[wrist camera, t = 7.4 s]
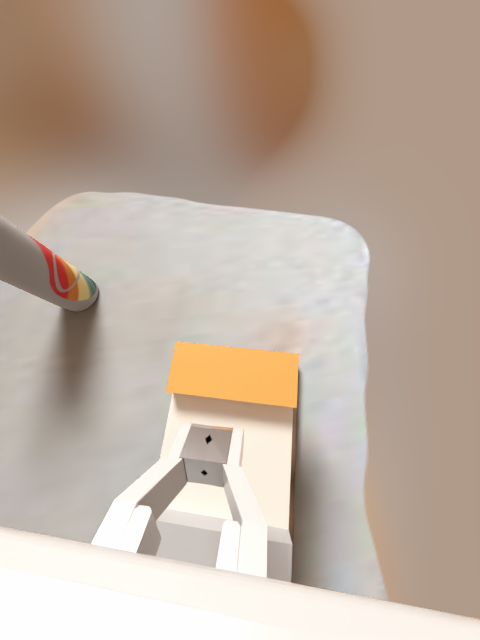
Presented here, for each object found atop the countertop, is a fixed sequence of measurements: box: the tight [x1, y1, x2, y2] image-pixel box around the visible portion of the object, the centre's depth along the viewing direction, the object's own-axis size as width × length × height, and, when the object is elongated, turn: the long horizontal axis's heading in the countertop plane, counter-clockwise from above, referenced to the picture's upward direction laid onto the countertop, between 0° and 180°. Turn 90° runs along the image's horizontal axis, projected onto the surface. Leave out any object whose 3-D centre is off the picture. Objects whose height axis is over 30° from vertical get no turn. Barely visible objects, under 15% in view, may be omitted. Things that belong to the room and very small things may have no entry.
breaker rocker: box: [156, 342, 299, 582], centre depth 17 cm, size 16×10×3 cm, turn 173°
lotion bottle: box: [0, 216, 98, 311], centre depth 25 cm, size 6×6×20 cm
